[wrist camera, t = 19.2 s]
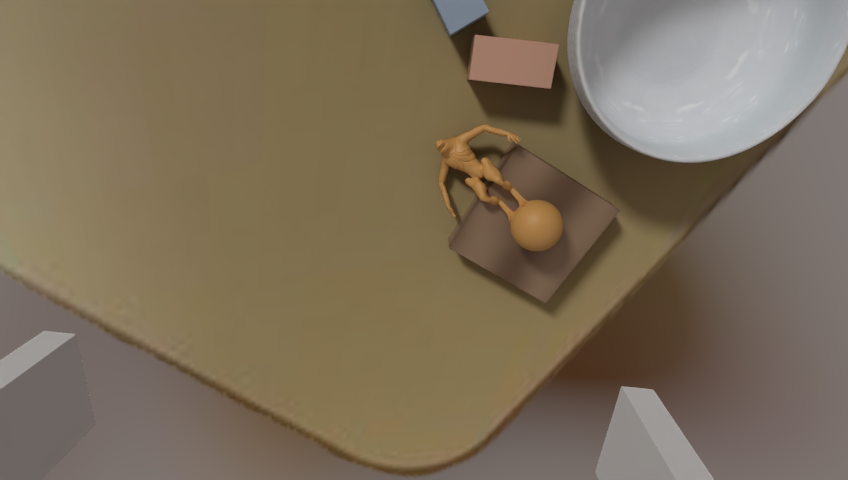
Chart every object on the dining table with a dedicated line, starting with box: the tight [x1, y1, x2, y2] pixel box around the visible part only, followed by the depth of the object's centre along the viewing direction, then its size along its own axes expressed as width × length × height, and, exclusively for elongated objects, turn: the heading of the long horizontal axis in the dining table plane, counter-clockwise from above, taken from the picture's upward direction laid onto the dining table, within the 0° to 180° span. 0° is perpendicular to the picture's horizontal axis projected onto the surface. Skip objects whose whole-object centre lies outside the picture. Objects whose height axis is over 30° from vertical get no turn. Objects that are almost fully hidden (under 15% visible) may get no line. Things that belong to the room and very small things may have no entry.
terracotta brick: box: [467, 35, 559, 89], centre depth 34 cm, size 6×3×3 cm, turn 84°
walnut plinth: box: [449, 141, 620, 303], centre depth 38 cm, size 10×10×3 cm
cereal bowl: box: [567, 0, 848, 163], centre depth 31 cm, size 17×17×7 cm
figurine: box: [436, 125, 563, 251], centre depth 35 cm, size 8×6×12 cm
